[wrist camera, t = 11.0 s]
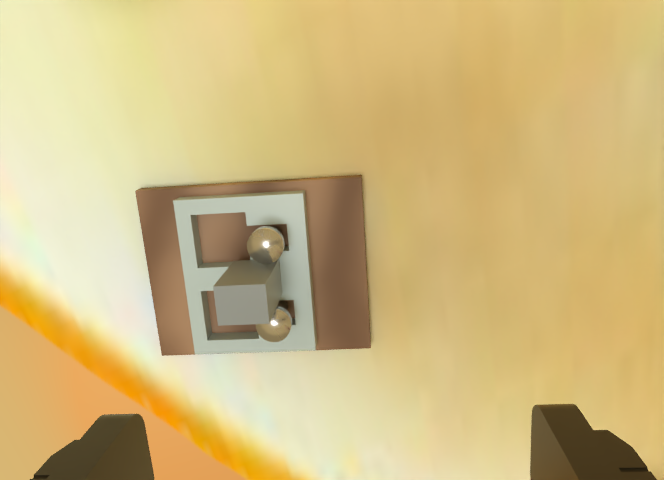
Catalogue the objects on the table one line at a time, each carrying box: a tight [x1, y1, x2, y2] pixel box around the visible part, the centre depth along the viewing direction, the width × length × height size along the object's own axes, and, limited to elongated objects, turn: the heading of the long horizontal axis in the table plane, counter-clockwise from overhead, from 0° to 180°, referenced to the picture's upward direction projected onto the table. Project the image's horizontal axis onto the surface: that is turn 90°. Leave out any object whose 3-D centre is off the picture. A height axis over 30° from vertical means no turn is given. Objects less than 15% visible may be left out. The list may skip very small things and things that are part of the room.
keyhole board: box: [136, 175, 371, 356], centre depth 37 cm, size 15×12×1 cm
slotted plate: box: [173, 190, 317, 354], centre depth 34 cm, size 8×11×6 cm
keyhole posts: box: [247, 226, 292, 342], centre depth 35 cm, size 2×7×3 cm, turn 4°
